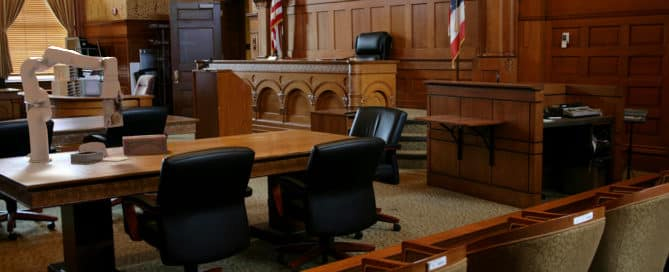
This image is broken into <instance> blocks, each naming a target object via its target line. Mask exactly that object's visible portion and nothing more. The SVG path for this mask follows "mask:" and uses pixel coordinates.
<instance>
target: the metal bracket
mask: <svg viewBox="0 0 669 272" xmlns="http://www.w3.org/2000/svg"><path fill="white" fill-rule="evenodd" d="M102 159H104V157H103V152H99V151H85V152H80V153H79V152H77V153H76V152H75V153H71V154H70V164H80V163H83V164H86V165H88V164H92V162H93V163H96V162H101V161H100V160H102ZM83 164H82V165H83Z"/></svg>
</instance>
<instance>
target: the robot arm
mask: <svg viewBox="0 0 669 272" xmlns="http://www.w3.org/2000/svg"><path fill="white" fill-rule="evenodd" d="M43 53H44V54H43V55H41V56H37V57H36V56H34V57H29V58H26V59H24V60H23V62H22V63H21V65H20V67H19V75H20V78H21V80H20V81H21V84H22V89H23V93H24V97H25V102H26V103H27V104H28V105H33V106H34V107H32V108H29V109H28V112H27V114H26V119H27V124H28V131H29V144H30V153H28V154H27V155H26V158H29V159H28V162H29V163H46V162H51V161H53V158H52V157H50V153H49V152H50V151H49V149H50V148H49V137H48V128H47V124H46V122H49V121H50V120H51V119H52V117H53V110H52V106H51V101H50V97H49V94H48V91H46V90H45V89H44V88H42V87H40V85H39V80H38V77H37V76H36V75H37V74H36V73H43V72H46V71H48V70H49V69H51V68H53V67H55V66H56V65H57V64H62V65H66V66H71V67H75V68H80V69H84V70H88V71H102V70H103V77H102V80H104V81H103V82H102V87H101V94H100V95H99V97H100V99H101V100H102V99H115V100H116V102H117V103H116V110H120V103H121V101H123V100H124V98H125V95H124V94H123V93H122V90H121V85H120V81H119V77H118V76H119V73H118V58H116V57H114V56H111V57H109V56H107V57H103V56H101V57H100V56H90V55H84V54H80V53H78V52H76V51H74V50H69V49H65V48H61V47H58V46H49V47H47V48H46V49H45V50H44V52H43Z"/></svg>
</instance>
